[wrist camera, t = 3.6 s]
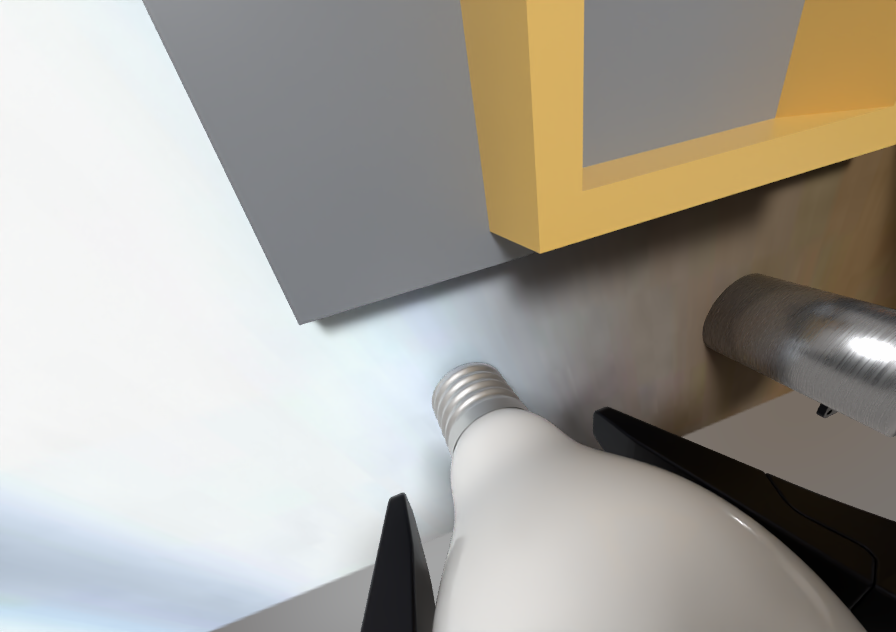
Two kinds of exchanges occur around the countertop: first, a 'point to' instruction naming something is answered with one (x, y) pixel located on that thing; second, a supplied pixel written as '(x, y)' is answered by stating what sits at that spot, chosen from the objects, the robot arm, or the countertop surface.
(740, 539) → the lightbulb
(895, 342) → the silver metal cylinder
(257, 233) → the board
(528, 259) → the countertop surface
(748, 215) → the countertop surface
